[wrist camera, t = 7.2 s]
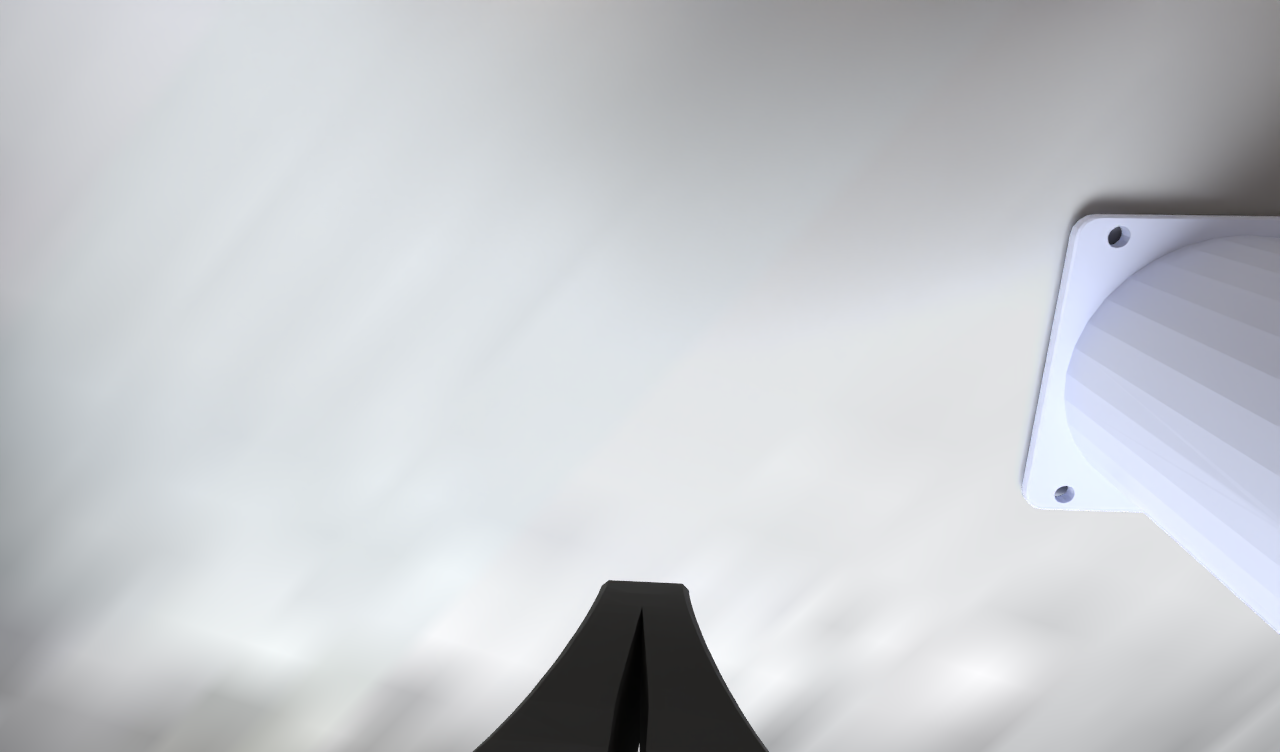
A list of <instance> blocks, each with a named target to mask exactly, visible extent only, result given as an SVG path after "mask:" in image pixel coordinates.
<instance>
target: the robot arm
mask: <svg viewBox="0 0 1280 752" xmlns="http://www.w3.org/2000/svg"><path fill="white" fill-rule="evenodd" d="M1119 226H1120V228H1121V229H1122V235H1121V237H1120V240H1119V241H1117V242H1116V243H1115V244H1112V245H1110V244H1109V243H1108V235H1109V233H1110V231H1112V230H1113V229H1114V228H1115V227H1119ZM1062 486H1068V489H1067V491H1066V492H1065V493H1064V494H1062V495H1060V496H1055V495H1054V494H1055V492H1056V490H1057V489H1059V488H1060V487H1062ZM1022 495H1023V496H1024V498H1025V500H1026V501H1027V502H1028V503H1029V504H1030V505H1031V506H1033V507H1034V508H1038V509H1048V510H1080V511H1112V512H1143V513H1144V514H1146V515H1147V516H1148V517H1149V518H1150V519H1151V520H1152V521H1153V522H1154V523H1156V524H1157V525H1158V526H1159V527H1160V528H1161V529H1162V530H1163V531H1164V532H1166V533H1167V534H1168V535H1169V536H1170V537H1171V538H1172V539H1173V540H1175V541H1176V542H1177V543H1178V544H1179V545H1180V546H1181V547H1182V548H1183V549H1185V550H1186V551H1187V552H1188V553H1189V554H1190V555H1191V556H1192V557H1194V558H1195V559H1196V560H1197V561H1198V562H1199V563H1200V564H1201V565H1202V566H1204V567H1205V568H1206V569H1207V570H1208V571H1209V572H1210V573H1211V574H1212V575H1214V576H1215V577H1216V578H1217V579H1218V580H1219V581H1220V582H1221V583H1223V584H1224V585H1225V586H1226V587H1227V588H1228V589H1229V590H1230V591H1231V592H1233V593H1234V594H1235V595H1236V596H1237V597H1238V598H1239V599H1240V600H1242V601H1243V602H1244V603H1245V604H1246V605H1247V606H1248V607H1249V608H1250V609H1252V610H1253V611H1254V612H1255V613H1256V614H1257V615H1258V616H1259V617H1260V618H1262V619H1263V620H1264V621H1265V622H1266V623H1267V624H1268V625H1269V626H1271V627H1272V628H1273V629H1274V630H1275V631H1276V632H1277V633H1278V634H1279V635H1280V216H1216V215H1137V214H1092V215H1087V216H1085V217H1083V218H1081V219H1080V220H1078V221H1077V223H1076V224H1075V225H1074V226H1073V228H1072V231H1071V233H1070V237H1069V242H1068V248H1067V253H1066V258H1065V263H1064V269H1063V274H1062V279H1061V284H1060V290H1059V295H1058V300H1057V305H1056V311H1055V316H1054V321H1053V326H1052V332H1051V337H1050V342H1049V347H1048V352H1047V358H1046V363H1045V368H1044V373H1043V379H1042V384H1041V389H1040V394H1039V400H1038V405H1037V410H1036V415H1035V421H1034V426H1033V431H1032V436H1031V442H1030V447H1029V452H1028V457H1027V463H1026V468H1025V473H1024V478H1023V483H1022ZM639 743H640V752H769V751H768V750H767V748H766V747H765V746H764V744H763V743H762V741H761V740H760V739H759V737H758V736H757V734H756V733H755V731H754V730H753V728H752V727H751V725H750V724H749V722H748V721H747V719H746V717H745V716H744V714H743V713H742V711H741V710H740V708H739V706H738V704H737V703H736V701H735V699H734V698H733V696H732V694H731V692H730V691H729V689H728V687H727V685H726V683H725V682H724V680H723V678H722V676H721V674H720V672H719V670H718V668H717V666H716V664H715V662H714V660H713V658H712V656H711V653H710V651H709V649H708V647H707V645H706V643H705V640H704V638H703V636H702V633H701V631H700V628H699V626H698V623H697V620H696V617H695V614H694V611H693V608H692V605H691V601H690V596H689V590H688V589H687V588H686V587H685V586H684V585H683V584H676V583H655V582H633V581H612V580H609V581H607V582H606V583H605V584H604V585H602V587H601V589H600V591H599V594H598V596H597V597H596V599H595V601H594V603H593V605H592V607H591V609H590V610H589V612H588V614H587V615H586V617H585V619H584V620H583V622H582V623H581V625H580V627H579V628H578V630H577V631H576V633H575V634H574V636H573V637H572V639H571V640H570V641H569V643H568V644H567V646H566V647H565V649H564V650H563V651H562V653H561V654H560V656H559V657H558V659H557V660H556V661H555V663H554V664H553V665H552V666H551V668H550V669H549V670H548V671H547V673H546V674H545V675H544V676H543V678H542V679H541V680H540V681H539V683H538V684H537V685H536V686H535V688H534V689H533V690H532V691H531V693H530V694H529V695H528V696H527V697H526V698H525V699H524V701H523V702H522V703H521V704H520V705H519V706H518V707H517V708H516V710H515V711H514V712H513V713H512V714H511V715H510V716H509V717H508V718H507V719H506V720H505V721H504V722H503V723H502V724H501V725H500V726H499V727H498V728H497V729H496V730H495V731H494V732H493V733H492V734H491V735H490V736H489V737H488V738H487V739H486V740H485V741H484V742H483V743H482V744H481V745H480V746H478V747H477V748H476V749H475V750H474V751H473V752H638V748H639Z"/></svg>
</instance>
